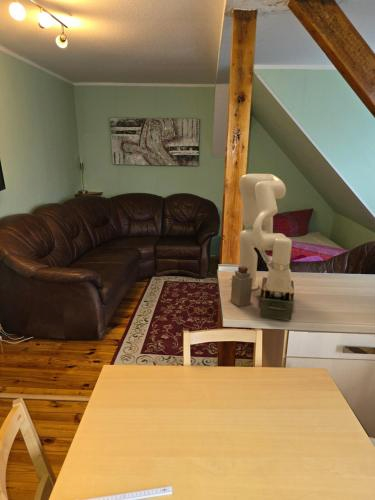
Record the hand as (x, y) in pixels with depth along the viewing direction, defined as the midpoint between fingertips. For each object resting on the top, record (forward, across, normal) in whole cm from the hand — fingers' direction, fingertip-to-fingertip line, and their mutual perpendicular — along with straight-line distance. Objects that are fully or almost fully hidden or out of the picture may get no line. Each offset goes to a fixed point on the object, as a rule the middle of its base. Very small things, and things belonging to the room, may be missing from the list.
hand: (276, 304), depth 148 cm
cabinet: (+5, 0, +12) cm, 13 cm away
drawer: (+4, 0, -1) cm, 4 cm away
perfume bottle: (+5, -17, +8) cm, 19 cm away
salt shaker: (0, 0, 0) cm, 0 cm away
